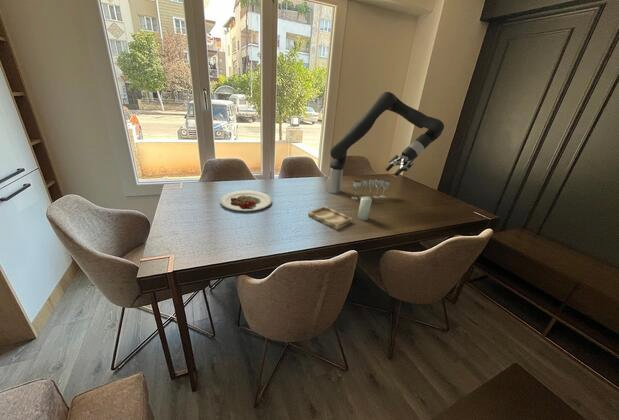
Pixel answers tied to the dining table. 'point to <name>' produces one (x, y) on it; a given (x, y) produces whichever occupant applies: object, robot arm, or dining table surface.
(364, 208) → the sage domed cylinder
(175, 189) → the dining table surface
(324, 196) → the dining table surface
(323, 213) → the tray
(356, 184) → the goblet set
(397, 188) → the dining table surface
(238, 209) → the plated food
